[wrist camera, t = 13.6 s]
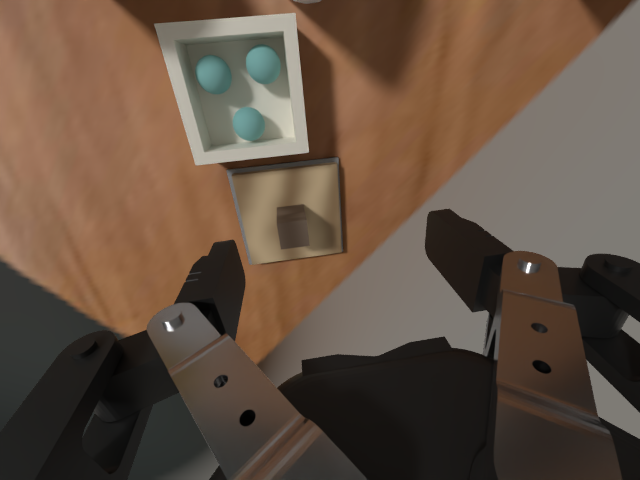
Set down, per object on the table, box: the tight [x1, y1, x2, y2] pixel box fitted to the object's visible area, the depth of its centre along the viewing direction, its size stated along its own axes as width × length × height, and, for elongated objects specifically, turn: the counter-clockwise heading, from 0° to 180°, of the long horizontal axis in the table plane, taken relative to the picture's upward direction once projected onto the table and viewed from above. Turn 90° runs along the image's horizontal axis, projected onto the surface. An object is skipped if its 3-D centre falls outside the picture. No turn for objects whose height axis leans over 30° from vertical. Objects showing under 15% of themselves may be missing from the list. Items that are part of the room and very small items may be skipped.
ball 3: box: [233, 107, 265, 141], centre depth 31 cm, size 3×3×3 cm
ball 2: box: [246, 44, 281, 84], centre depth 28 cm, size 3×3×3 cm
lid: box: [232, 162, 342, 265], centre depth 36 cm, size 13×13×6 cm
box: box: [154, 13, 309, 165], centre depth 30 cm, size 12×12×5 cm
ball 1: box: [195, 55, 232, 94], centre depth 28 cm, size 3×3×3 cm
